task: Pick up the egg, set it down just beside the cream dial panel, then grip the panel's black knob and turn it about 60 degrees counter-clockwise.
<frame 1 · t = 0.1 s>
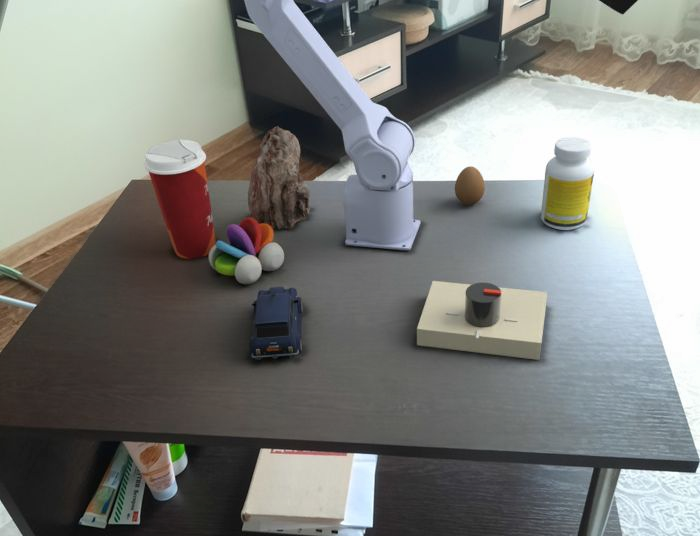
rainbow baby rattle: (249, 270, 101), on the table
pill bottle: (562, 221, 105), on the table
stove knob: (482, 303, 84), point 4 cm above the table, hinge at 0.0°
toy car 2: (278, 335, 89), on the table
stone: (280, 223, 110), on the table
cream dial panel: (482, 326, 87), on the table
egg: (468, 205, 111), on the table
coffee cup: (195, 249, 106), on the table
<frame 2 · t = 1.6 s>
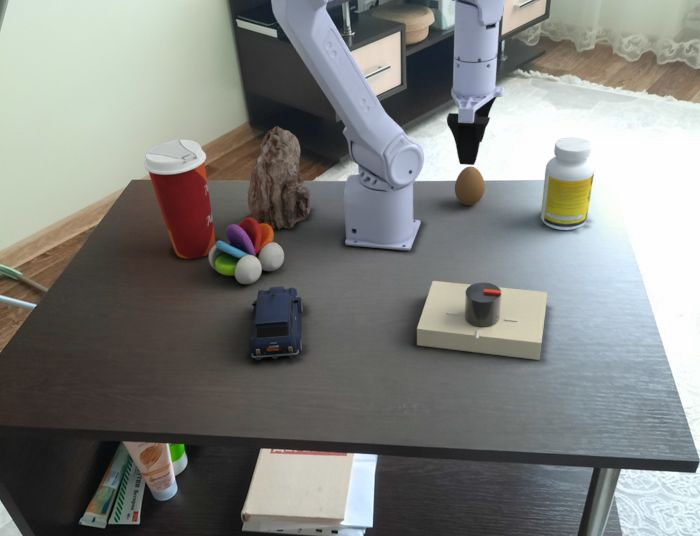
hand: (471, 152, 106), 8 cm above the table, tool pointing down, fingers open, 7 cm apart
nothing on the table moved.
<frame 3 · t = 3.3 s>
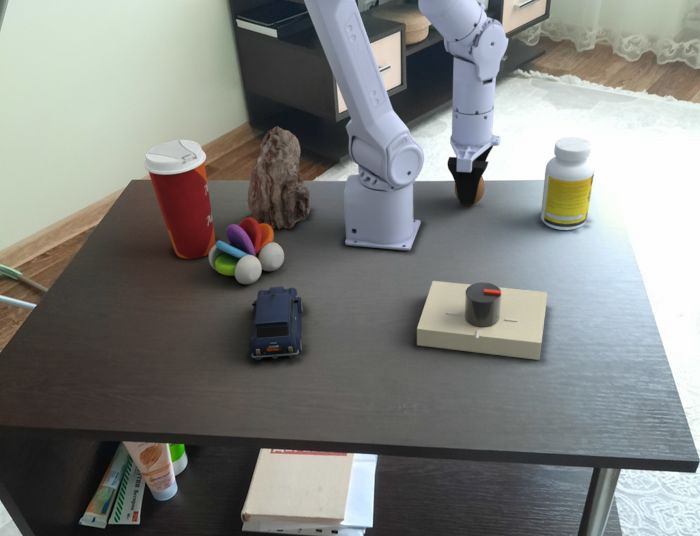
hand: (469, 195, 110), 1 cm above the table, tool pointing down, fingers closed on egg, 4 cm apart
egg: (468, 205, 111), on the table, touching gripper
everything else where it was.
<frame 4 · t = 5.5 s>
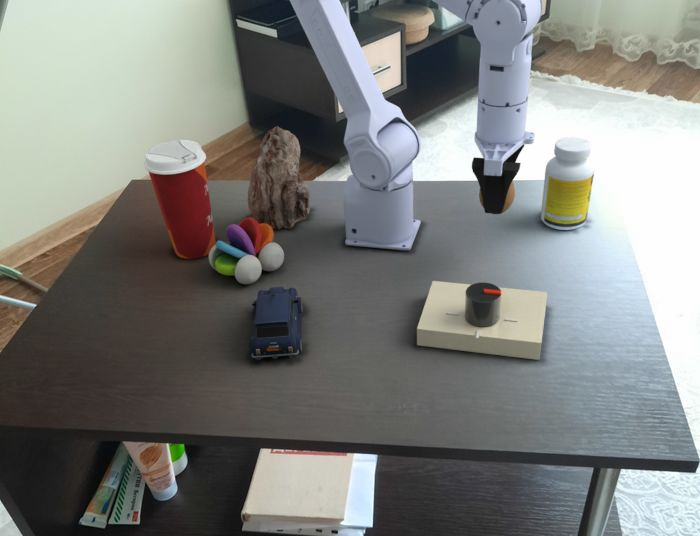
hand: (495, 202, 93), 8 cm above the table, tool pointing down, fingers closed on egg, 4 cm apart
egg: (495, 213, 94), point 7 cm above the table, touching gripper
everything else where it was.
when the fingers open (1 cm above the table, at t = 8.2 s): egg stays where it is, on the table.
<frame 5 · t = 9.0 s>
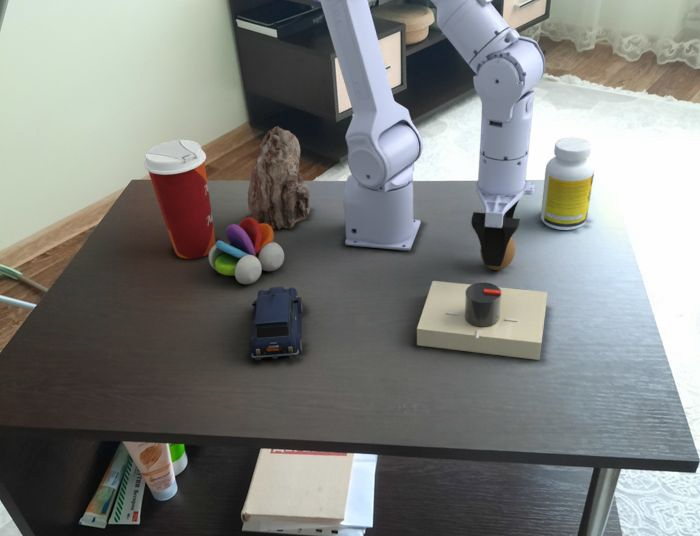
hand: (496, 248, 95), 3 cm above the table, tool pointing down, fingers open, 7 cm apart
egg: (496, 269, 97), on the table
everything else where it was.
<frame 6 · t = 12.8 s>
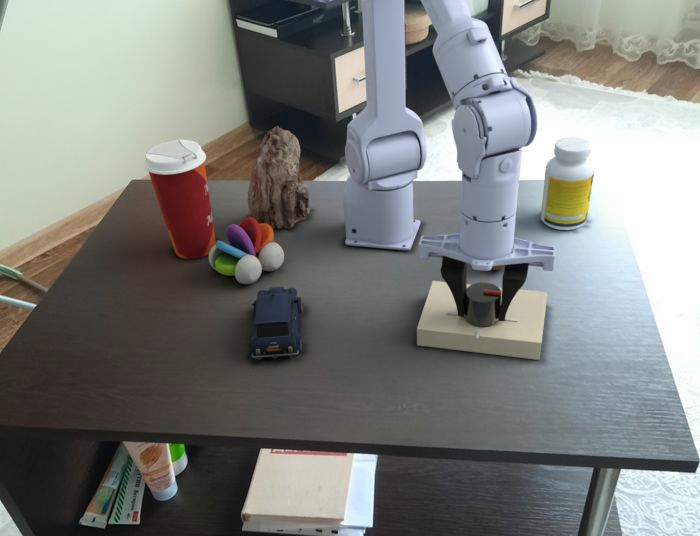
hand: (481, 313, 84), 3 cm above the table, tool pointing down, fingers closed on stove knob, 4 cm apart
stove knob: (482, 303, 84), point 4 cm above the table, hinge at -0.2°, touching gripper
everything else where it was.
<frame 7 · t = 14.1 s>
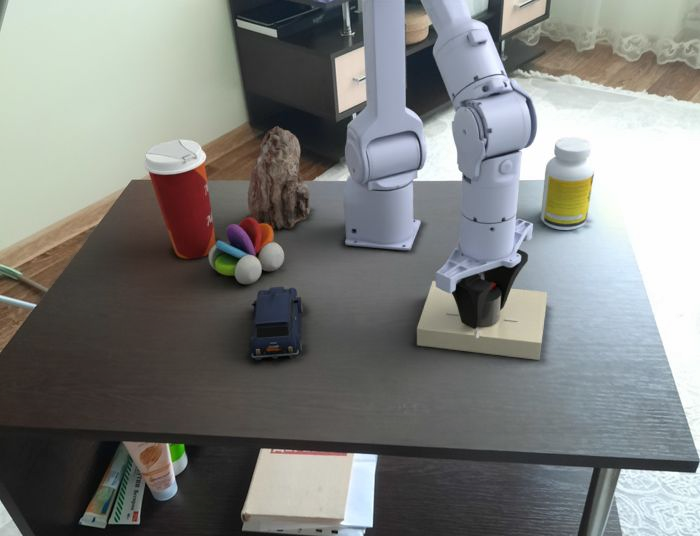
hand: (482, 315, 84), 3 cm above the table, tool pointing down, fingers closed on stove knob, 4 cm apart
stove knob: (482, 303, 84), point 4 cm above the table, hinge at 60.0°, touching gripper
everything else where it was.
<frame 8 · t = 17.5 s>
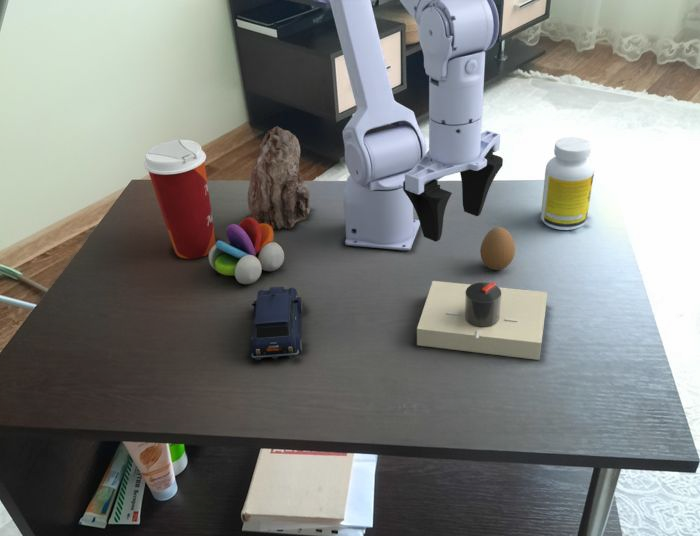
hand: (452, 225, 88), 9 cm above the table, tool pointing down, fingers open, 7 cm apart
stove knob: (482, 303, 84), point 4 cm above the table, hinge at 60.4°
everything else where it was.
at the end: egg inside the target area on the table beside the cream dial panel (0.1 cm from its centre), on the table; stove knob at +60° (first picture: +0°); the gripper is holding nothing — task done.
